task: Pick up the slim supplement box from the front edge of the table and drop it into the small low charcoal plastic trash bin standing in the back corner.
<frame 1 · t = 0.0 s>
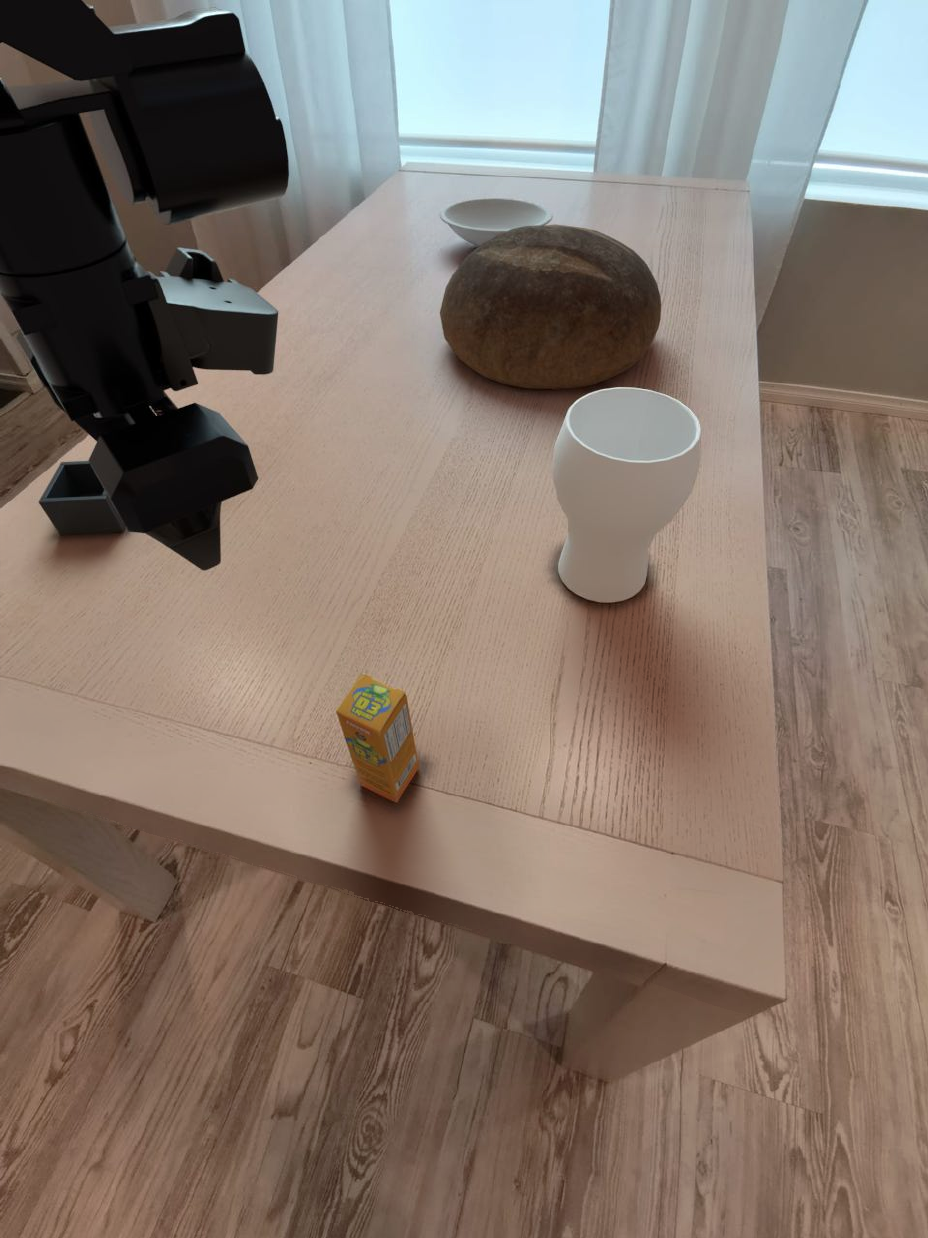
hand: (182, 523, 40), 15 cm above the table, tool pointing down, fingers open, 9 cm apart
bread: (547, 345, 84), on the table
dish: (494, 249, 105), on the table
supplement box: (389, 779, 45), on the table
trash bin: (101, 512, 64), on the table
cup: (601, 572, 58), on the table
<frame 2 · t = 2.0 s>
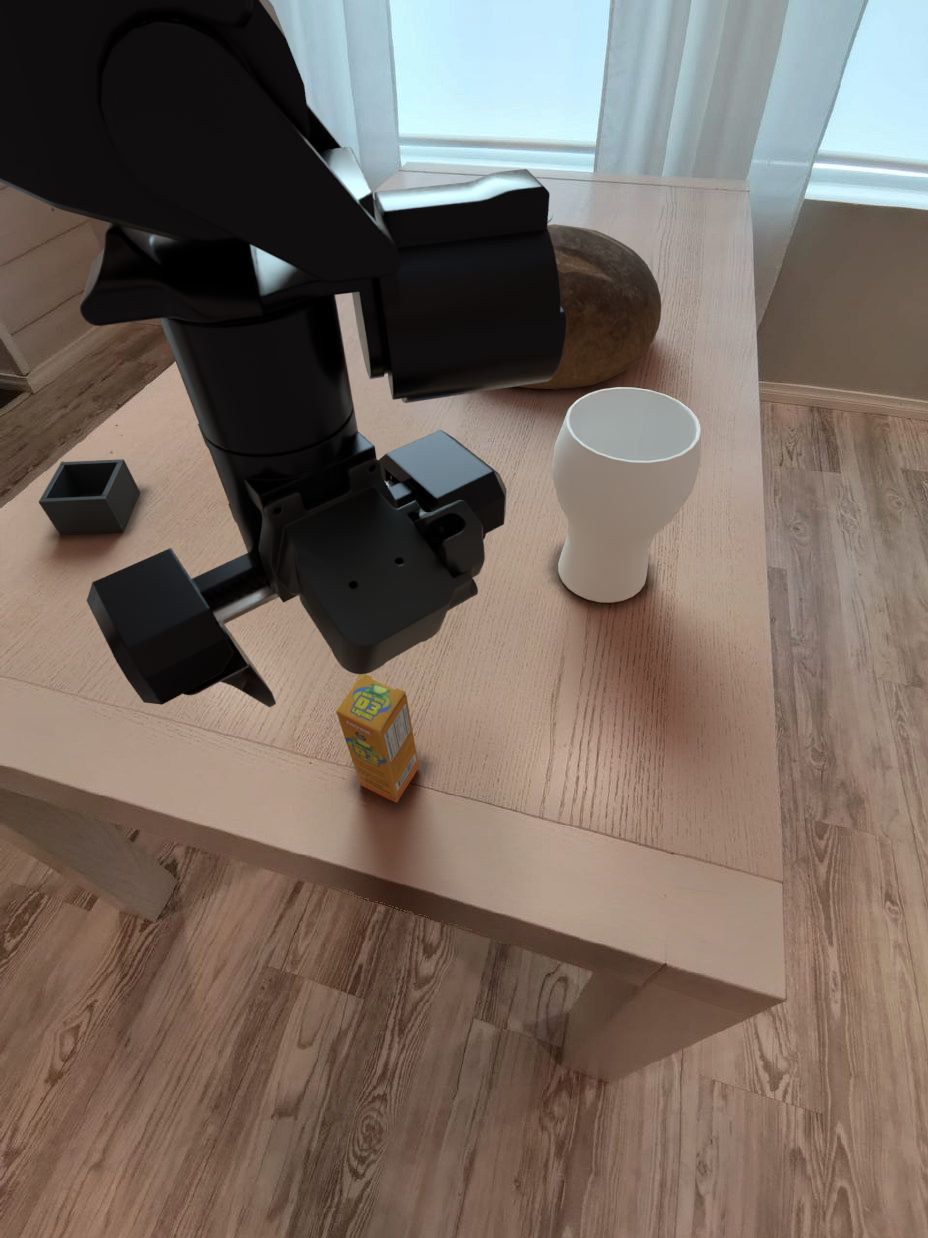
hand: (344, 658, 37), 12 cm above the table, tool pointing down, fingers open, 9 cm apart
nothing on the table moved.
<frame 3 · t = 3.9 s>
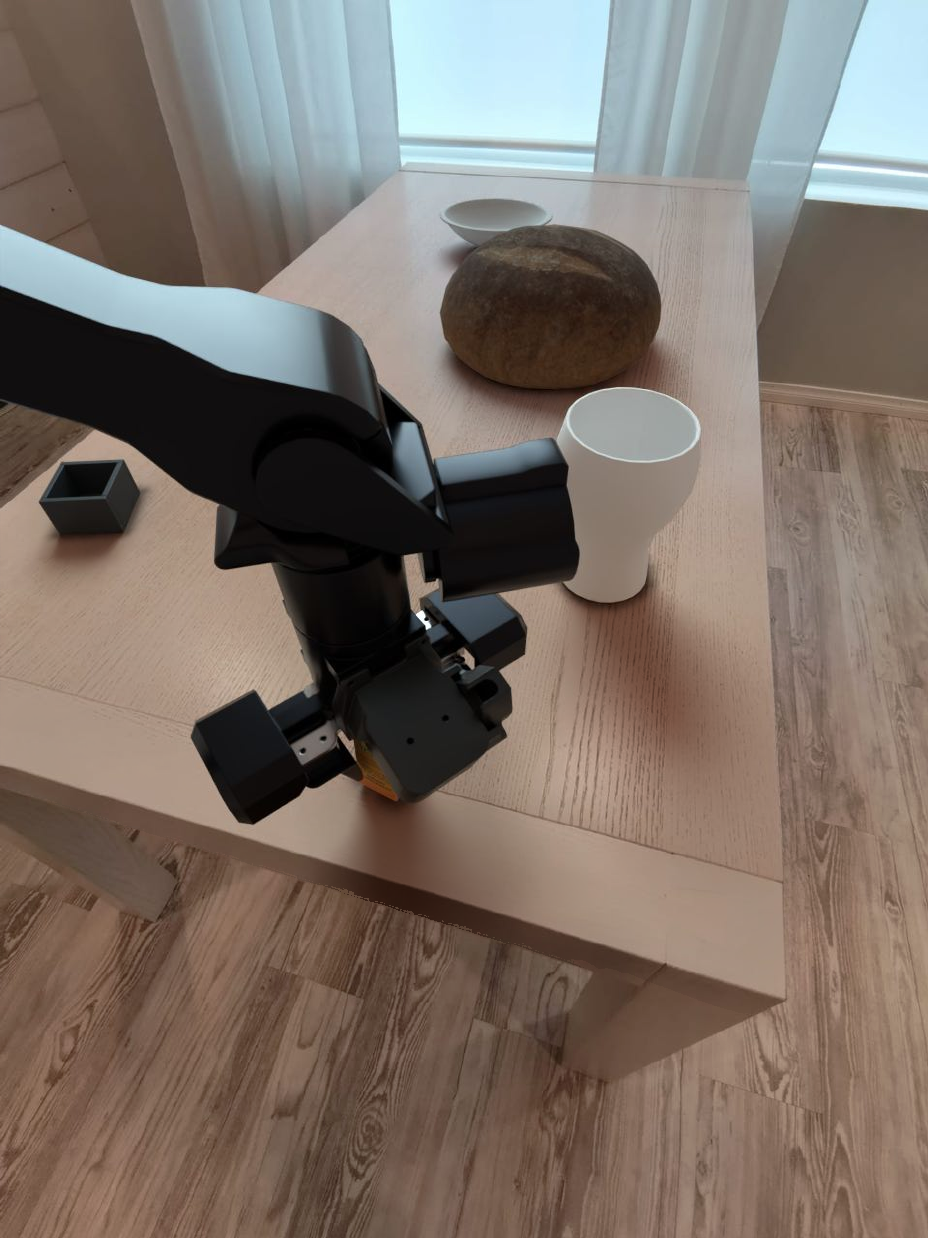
hand: (387, 756, 43), 3 cm above the table, tool pointing down, fingers closed on supplement box, 4 cm apart
supplement box: (388, 778, 45), on the table, touching gripper
everything else where it was.
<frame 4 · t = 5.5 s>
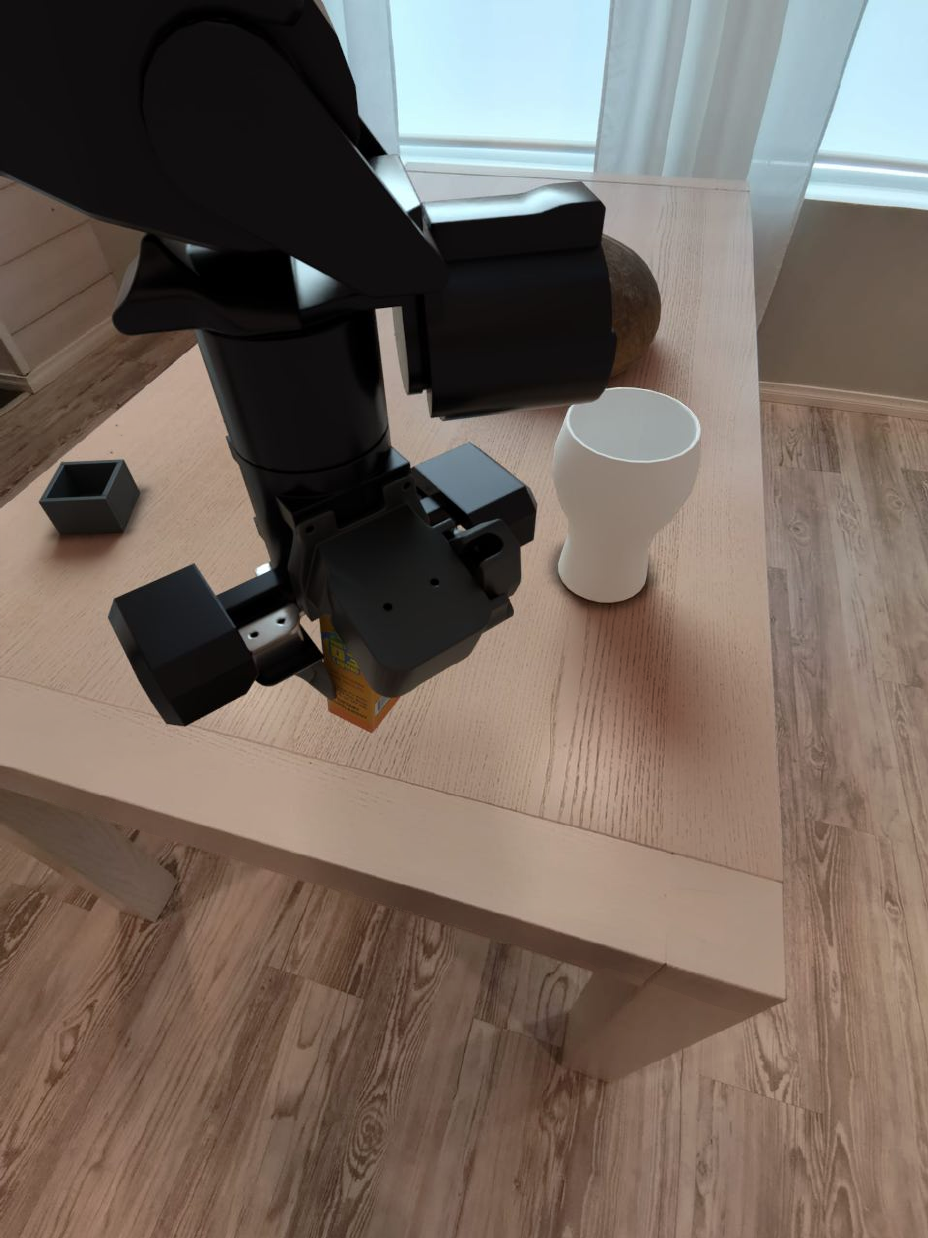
hand: (365, 674, 36), 12 cm above the table, tool pointing down, fingers closed on supplement box, 4 cm apart
supplement box: (363, 708, 38), point 9 cm above the table, touching gripper
everything else where it was.
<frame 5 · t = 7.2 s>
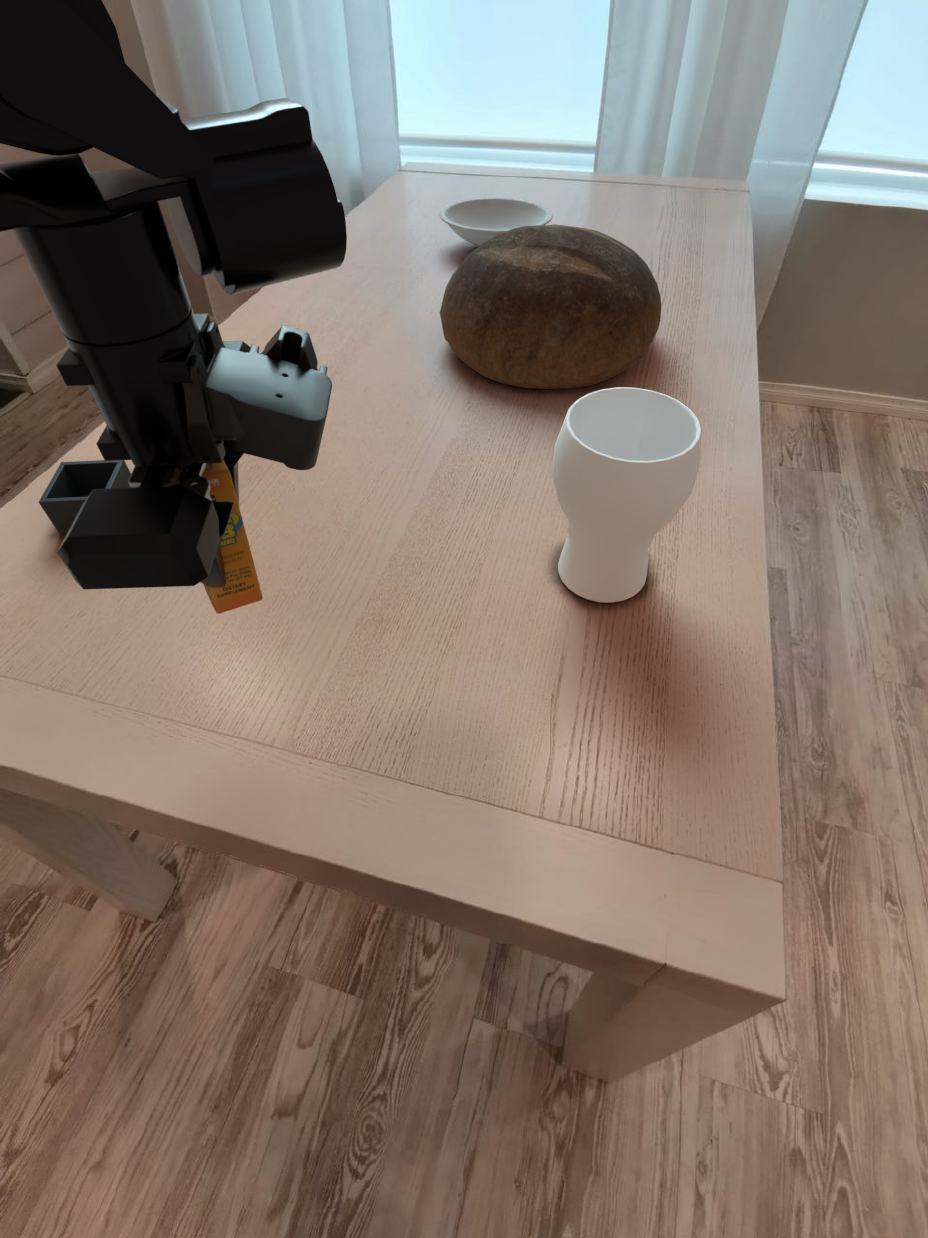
hand: (224, 560, 42), 12 cm above the table, tool pointing down, fingers closed on supplement box, 4 cm apart
supplement box: (236, 598, 44), point 9 cm above the table, touching gripper
everything else where it was.
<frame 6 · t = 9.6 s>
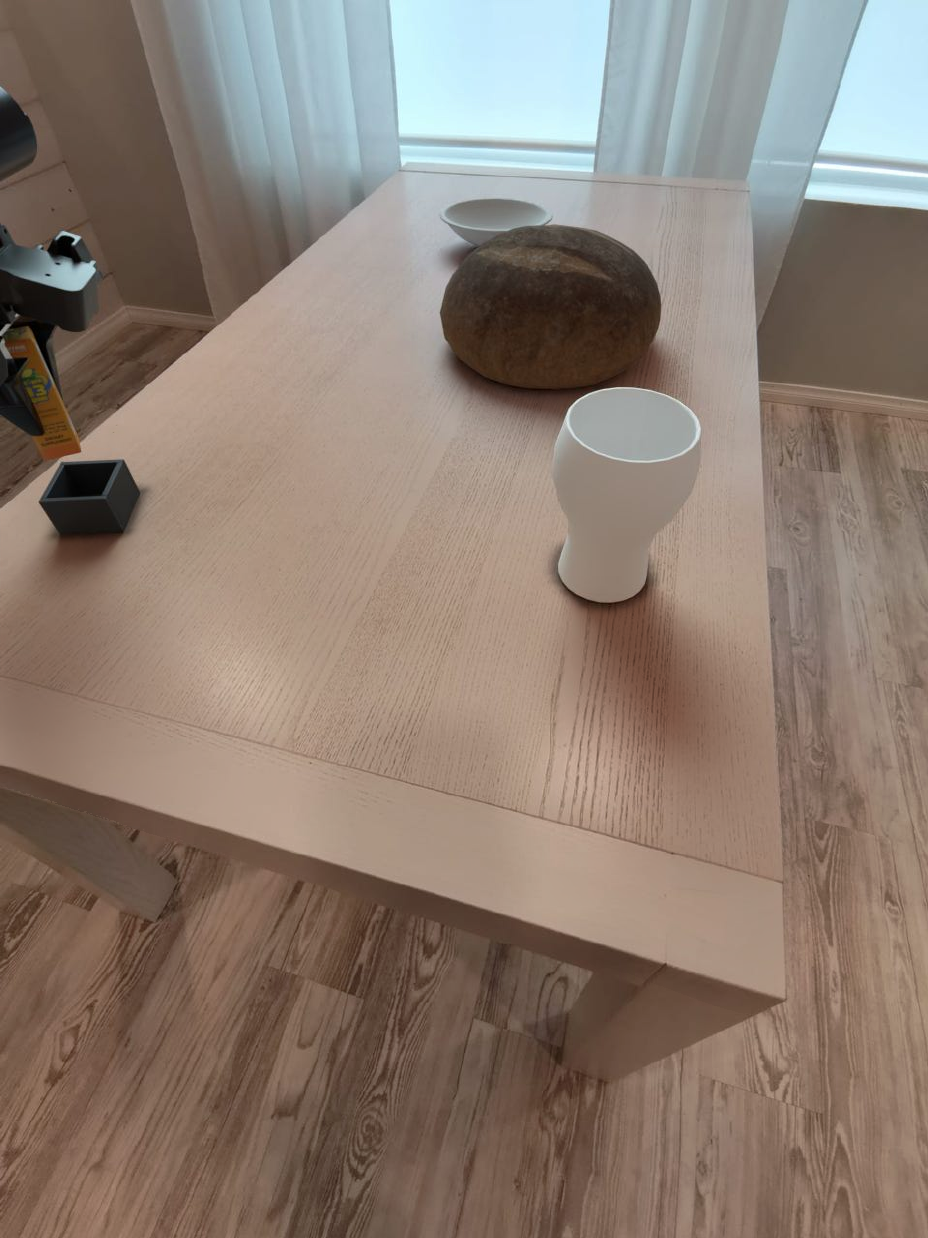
hand: (47, 420, 56), 10 cm above the table, tool pointing down, fingers closed on supplement box, 4 cm apart
supplement box: (63, 452, 58), point 8 cm above the table, touching gripper
everything else where it was.
when the fingers open (7 cm above the table, at t = 10.8 s): supplement box drops 2 cm, resting on trash bin.
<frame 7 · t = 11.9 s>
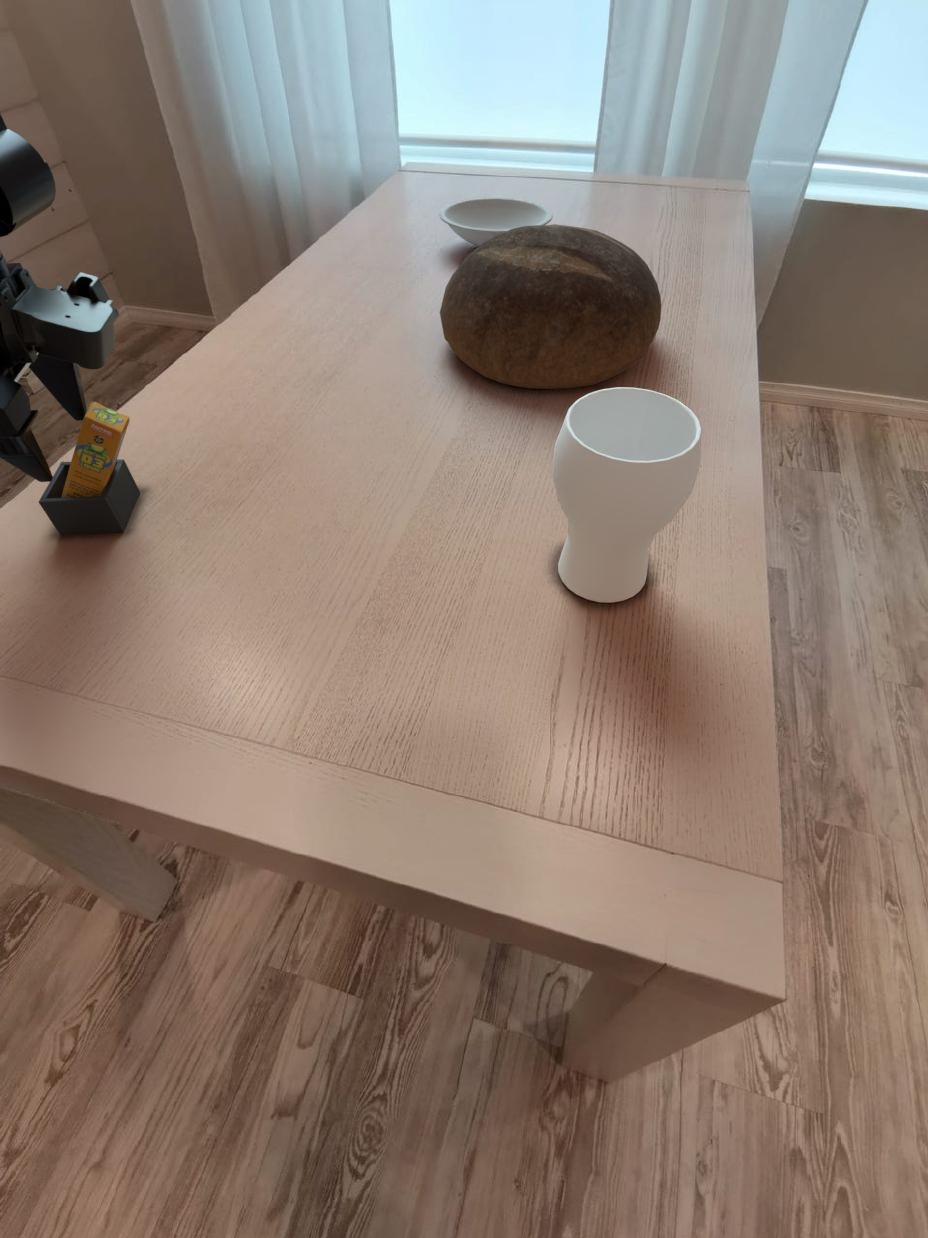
hand: (65, 448, 58), 7 cm above the table, tool pointing down, fingers open, 9 cm apart
supplement box: (81, 505, 62), point 1 cm above the table, touching trash bin
everything else where it was.
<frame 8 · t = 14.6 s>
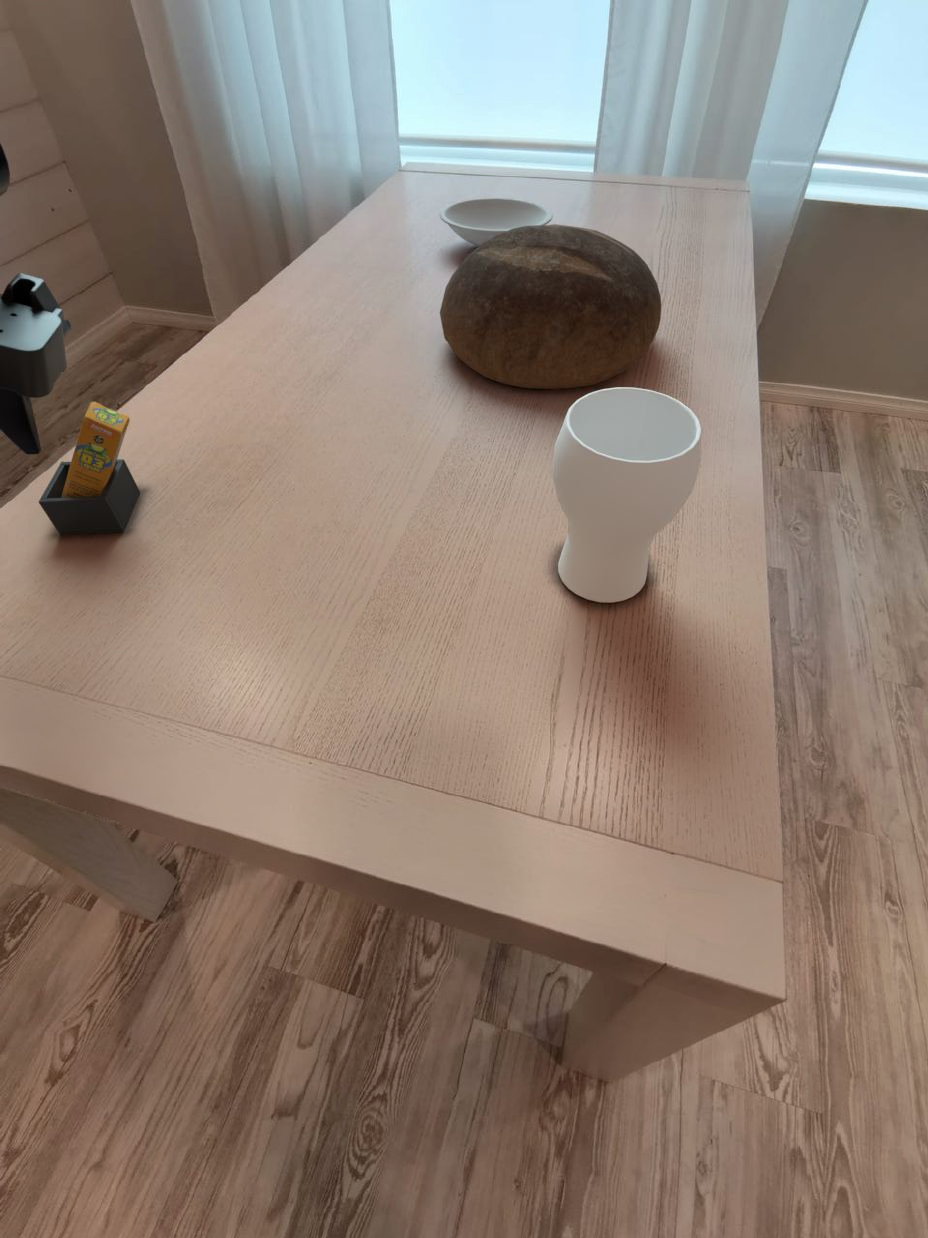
hand: (10, 491, 47), 12 cm above the table, tool pointing down, fingers open, 9 cm apart
nothing on the table moved.
at the end: supplement box 1.2 cm off-centre in the trash bin, point 1.5 cm above the trash bin's base; the gripper is holding nothing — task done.
